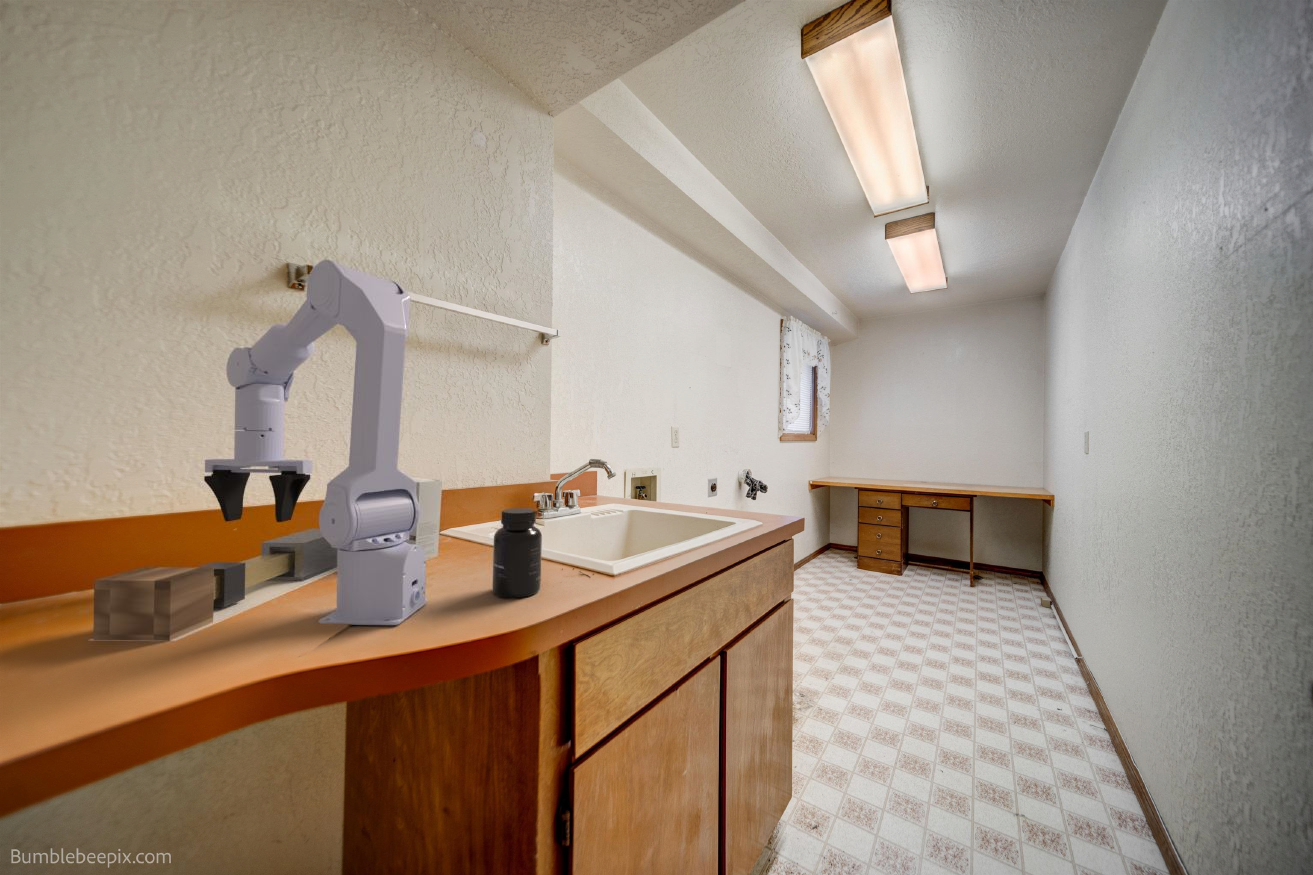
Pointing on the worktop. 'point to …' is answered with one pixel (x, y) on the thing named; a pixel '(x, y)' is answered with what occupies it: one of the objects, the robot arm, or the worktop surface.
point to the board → (252, 599)
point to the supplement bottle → (517, 555)
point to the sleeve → (304, 554)
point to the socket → (153, 603)
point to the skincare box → (427, 516)
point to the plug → (247, 575)
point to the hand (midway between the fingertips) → (258, 520)
